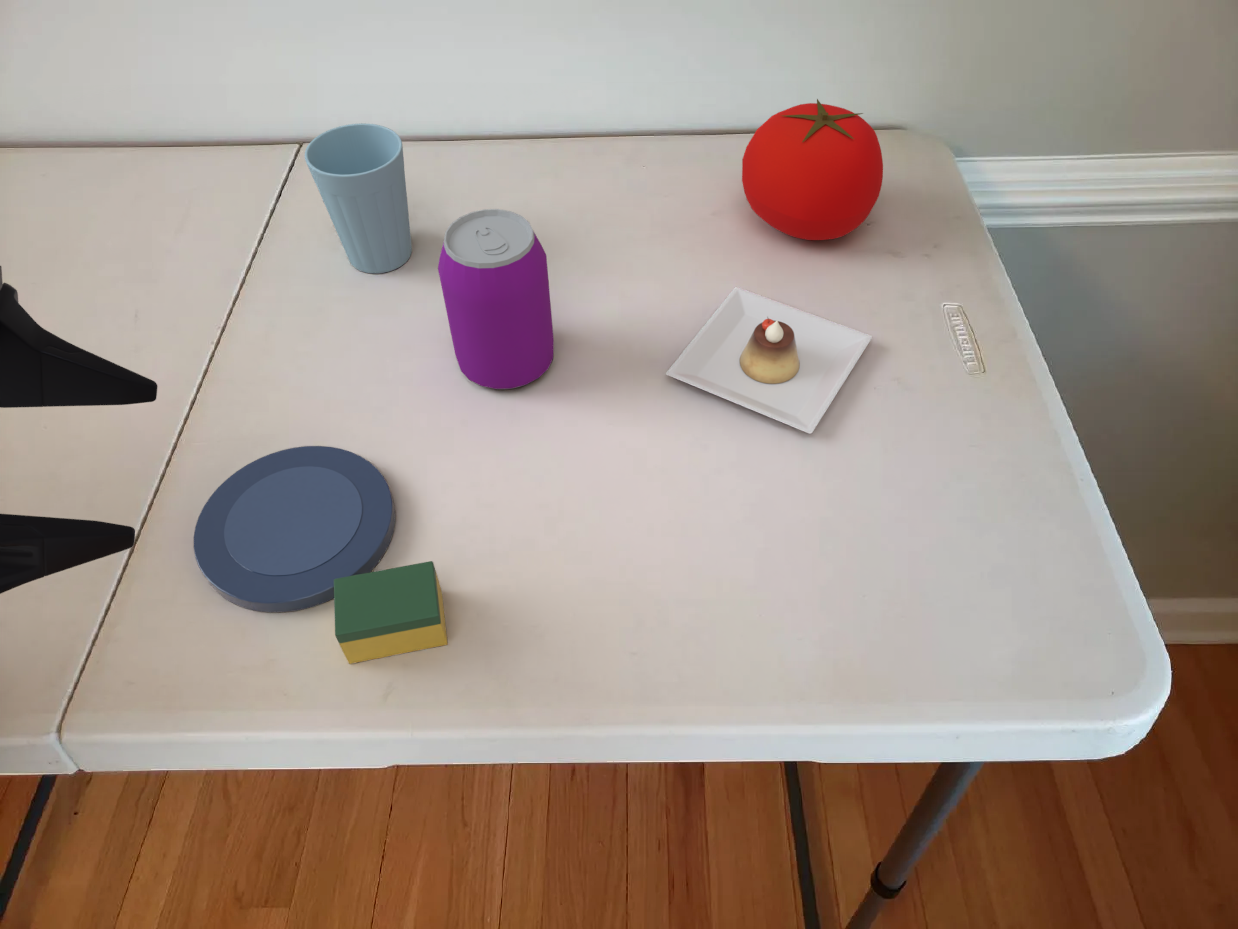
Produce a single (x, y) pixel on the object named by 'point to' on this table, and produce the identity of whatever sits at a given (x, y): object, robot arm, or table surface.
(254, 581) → the plate
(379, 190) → the cup
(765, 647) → the table surface
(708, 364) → the dessert
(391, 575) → the sponge
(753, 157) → the tomato
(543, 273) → the beverage can
